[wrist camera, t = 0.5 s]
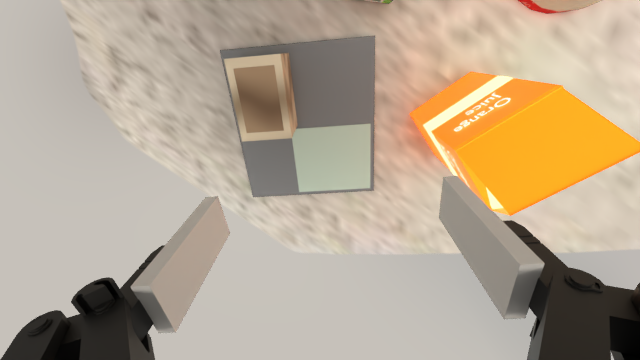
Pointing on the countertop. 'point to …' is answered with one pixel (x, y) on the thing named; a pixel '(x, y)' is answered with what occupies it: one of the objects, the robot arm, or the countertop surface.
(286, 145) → the rubber mat
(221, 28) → the countertop surface
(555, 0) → the kitchen timer
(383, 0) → the syrup box
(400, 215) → the countertop surface
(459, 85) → the orange juice
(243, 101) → the maple block
